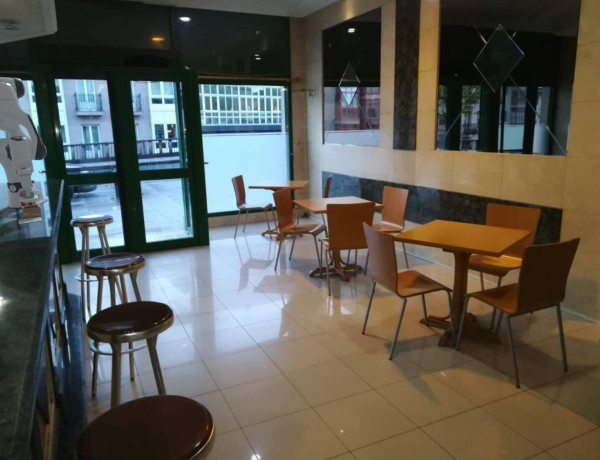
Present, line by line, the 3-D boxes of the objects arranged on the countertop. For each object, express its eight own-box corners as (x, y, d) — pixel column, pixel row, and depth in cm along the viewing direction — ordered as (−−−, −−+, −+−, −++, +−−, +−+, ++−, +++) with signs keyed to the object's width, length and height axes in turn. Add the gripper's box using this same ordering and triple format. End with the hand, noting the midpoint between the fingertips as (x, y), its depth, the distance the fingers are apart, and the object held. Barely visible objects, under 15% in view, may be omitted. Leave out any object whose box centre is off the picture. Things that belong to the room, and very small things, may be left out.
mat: (18, 220, 236) (18, 220, 236) (41, 217, 241) (40, 216, 241) (18, 224, 227) (18, 223, 227) (42, 221, 232) (42, 220, 232)
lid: (20, 201, 245) (18, 191, 243) (38, 198, 249) (36, 189, 247) (20, 203, 238) (18, 194, 236) (39, 201, 242) (37, 192, 241)
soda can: (30, 212, 253) (26, 190, 250) (19, 212, 255) (15, 191, 252) (40, 210, 260) (36, 188, 257) (29, 210, 262) (24, 188, 258)
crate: (23, 216, 246) (21, 206, 245) (40, 213, 250) (39, 204, 249) (24, 218, 240) (22, 209, 238) (41, 216, 243) (40, 206, 242)
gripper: (16, 167, 246) (21, 193, 250) (16, 172, 229) (22, 200, 233) (29, 166, 249) (34, 192, 253) (31, 170, 232) (36, 198, 236)
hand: (28, 196), depth 243 cm, fingers closed on lid, 2 cm apart
